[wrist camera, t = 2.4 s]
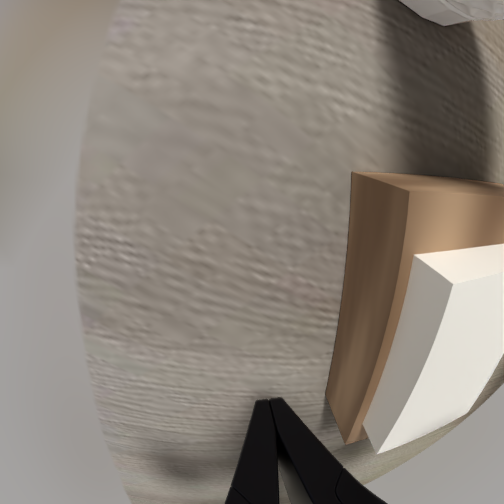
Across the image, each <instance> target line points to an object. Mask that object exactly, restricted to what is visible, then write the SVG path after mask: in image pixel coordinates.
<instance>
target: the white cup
mask: <svg viewBox="0 0 504 504" xmlns="http://www.w3.org/2000/svg"><path fill="white" fill-rule="evenodd" d="M399 1H400V2H402V3H403V4H405V5H406V6H407V7H409V8H410V9H412V10H413V11H414V12H416V13H417V14H418V15H420V16H421V17H422V18H425V19H427V20H430V21H433V22H435V23H438V24H440V25H443V26H448V25H454V24H460V23H465V22H470V21H477V20H485V21H494V20H499V19H502V20H504V0H399Z"/></svg>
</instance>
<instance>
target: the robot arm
mask: <svg viewBox="0 0 504 504" xmlns="http://www.w3.org/2000/svg"><path fill="white" fill-rule="evenodd" d="M278 466H279V469H280V472H281V475H282V478H283V481H284V484H285V487H286V490H287V493H288V496H289V499H290V502H291V504H387V503H386V502H385V501H383V500H381V499H380V498H379V497H377V496H376V495H375V494H373V493H372V492H371V491H369V490H368V489H367V488H366V487H364V486H363V485H362V484H361V483H360V482H359V481H358V480H357V479H356V478H354V477H353V476H352V475H351V474H350V473H349V472H348V471H347V470H346V468H343V466H342V464H341V463H340V462H339V461H338V460H337V459H336V458H335V457H334V456H333V455H332V454H331V453H330V452H329V451H328V450H327V448H326V447H325V446H324V445H323V444H322V443H321V442H320V441H319V440H318V439H317V437H316V436H315V435H314V434H313V433H312V432H311V431H310V430H309V428H308V427H307V426H306V425H305V424H304V423H303V422H302V420H301V419H300V418H299V417H298V416H297V415H296V414H295V412H294V411H293V410H292V409H291V408H290V407H289V405H288V404H287V403H286V402H285V401H284V399H283V398H281V397H277V398H271V399H269V400H268V399H262V400H257V401H256V402H255V405H254V409H253V412H252V416H251V420H250V423H249V427H248V430H247V434H246V437H245V441H244V444H243V447H242V451H241V454H240V457H239V461H238V464H237V467H236V471H235V474H234V477H233V480H232V484H231V487H230V489H229V492H228V496H227V498H226V501H225V504H279V480H278Z"/></svg>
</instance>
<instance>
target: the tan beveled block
mask: <svg viewBox="0 0 504 504" xmlns="http://www.w3.org/2000/svg"><path fill="white" fill-rule="evenodd" d="M497 244H504V185H503V184H499V183H492V182H485V181H477V180H469V179H460V178H451V177H440V176H429V175H415V174H399V173H378V172H352V182H351V205H350V222H349V235H348V247H347V258H346V268H345V277H344V286H343V294H342V302H341V309H340V316H339V323H338V329H337V335H336V341H335V347H334V353H333V358H332V364H331V369H330V374H329V379H328V384H327V389H326V393H325V395H326V397H327V400H328V402H329V405H330V407H331V410H332V412H333V415H334V417H335V420H336V422H337V425H338V428H339V430H340V433H341V435H342V438H343V440H344V443H345V445H346V444H350V443H354V442H357V441H360V440H364V439H367V438H369V437H368V435H367V433H366V431H365V428H364V426H363V421H364V419H365V417H366V414H367V412H368V410H369V407H370V405H371V402H372V400H373V397H374V395H375V392H376V390H377V387H378V384H379V382H380V379H381V376H382V373H383V371H384V368H385V365H386V362H387V359H388V356H389V353H390V350H391V346H392V343H393V340H394V337H395V333H396V330H397V326H398V323H399V319H400V315H401V311H402V308H403V303H404V299H405V295H406V291H407V286H408V282H409V277H410V272H411V267H412V262H413V257H414V255H416V254H425V253H433V252H442V251H450V250H458V249H466V248H474V247H482V246H489V245H497Z"/></svg>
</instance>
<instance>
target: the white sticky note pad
mask: <svg viewBox="0 0 504 504" xmlns="http://www.w3.org/2000/svg"><path fill="white" fill-rule="evenodd" d="M503 353H504V244H497V245H489V246H482V247H474V248H466V249H458V250H450V251H442V252H433V253H425V254H416V255H414V257H413V262H412V267H411V272H410V277H409V282H408V286H407V291H406V295H405V299H404V303H403V308H402V311H401V315H400V319H399V323H398V326H397V330H396V333H395V337H394V340H393V343H392V346H391V350H390V353H389V356H388V359H387V362H386V365H385V368H384V371H383V373H382V376H381V379H380V382H379V384H378V387H377V390H376V392H375V395H374V397H373V400H372V402H371V405H370V407H369V410H368V412H367V414H366V417H365V419H364V421H363V426H364V428H365V431H366V433H367V435H368V437H369V439H370V442H371V444H372V446H373V448H374V450H375V453H376V454H379V453H382V452H385V451H387V450H390V449H393V448H395V447H398V446H400V445H403V444H405V443H408V442H410V441H412V440H415V439H417V438H419V437H421V436H424V435H426V434H428V433H430V432H432V431H434V430H436V429H438V428H440V427H442V426H444V425H446V424H448V423H450V422H452V421H454V420H455V419H457V418H459V417H461V416H463V415H464V414H466V413H467V412H468V411H469V409H470V408H471V407H472V405H473V404H474V402H475V401H476V399H477V398H478V396H479V395H480V393H481V391H482V390H483V388H484V387H485V385H486V383H487V382H488V380H489V378H490V377H491V375H492V373H493V372H494V370H495V368H496V366H497V364H498V363H499V361H500V359H501V357H502V355H503Z"/></svg>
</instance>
